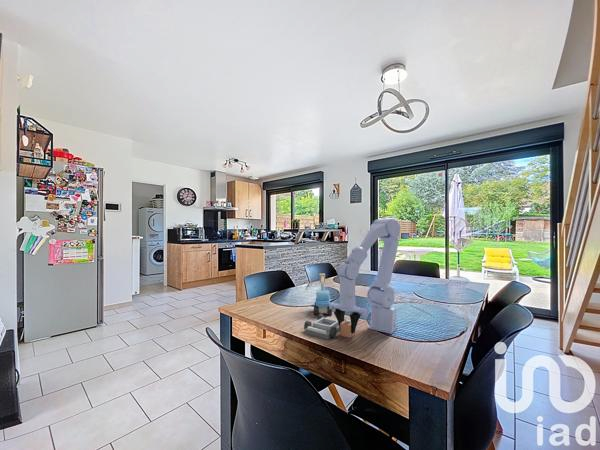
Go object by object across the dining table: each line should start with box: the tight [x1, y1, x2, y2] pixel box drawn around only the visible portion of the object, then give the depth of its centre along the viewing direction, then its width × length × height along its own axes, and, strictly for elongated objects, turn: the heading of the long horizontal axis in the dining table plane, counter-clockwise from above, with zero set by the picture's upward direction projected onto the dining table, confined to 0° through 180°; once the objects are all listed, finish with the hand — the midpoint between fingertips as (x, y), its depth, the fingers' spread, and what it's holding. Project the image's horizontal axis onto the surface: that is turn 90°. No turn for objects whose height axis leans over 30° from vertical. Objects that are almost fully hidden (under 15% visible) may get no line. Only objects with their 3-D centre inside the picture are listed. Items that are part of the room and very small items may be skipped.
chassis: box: [303, 313, 347, 340], centre depth 102 cm, size 12×16×4 cm
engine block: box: [339, 319, 356, 338], centre depth 97 cm, size 4×4×5 cm
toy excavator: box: [313, 273, 333, 316], centre depth 126 cm, size 9×17×17 cm, turn 174°
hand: (347, 331), depth 97 cm, fingers closed on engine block, 4 cm apart
